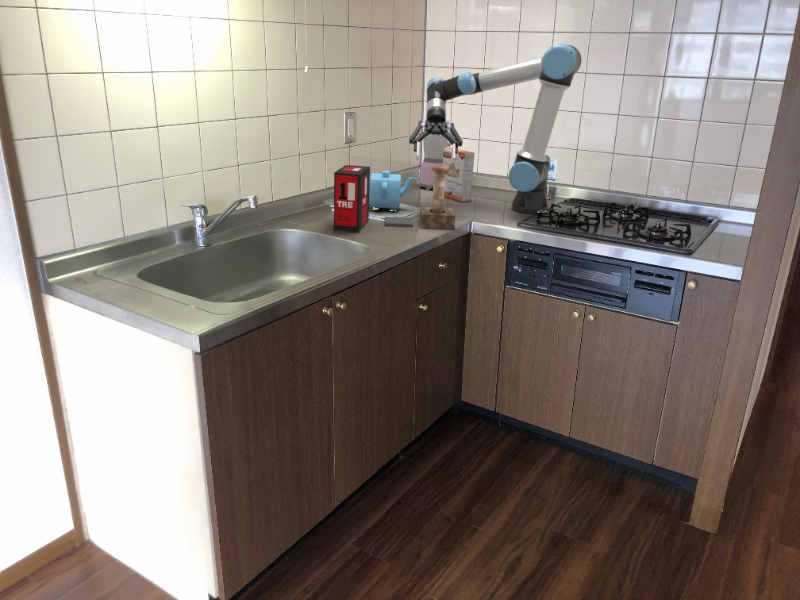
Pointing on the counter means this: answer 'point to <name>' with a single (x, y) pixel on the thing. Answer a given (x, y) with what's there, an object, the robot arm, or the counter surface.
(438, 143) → the blender
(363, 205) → the cleaning product box
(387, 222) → the rubber mat
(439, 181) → the wheel peg
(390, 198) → the teakettle
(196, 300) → the counter surface
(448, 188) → the cracker box
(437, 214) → the eye block
